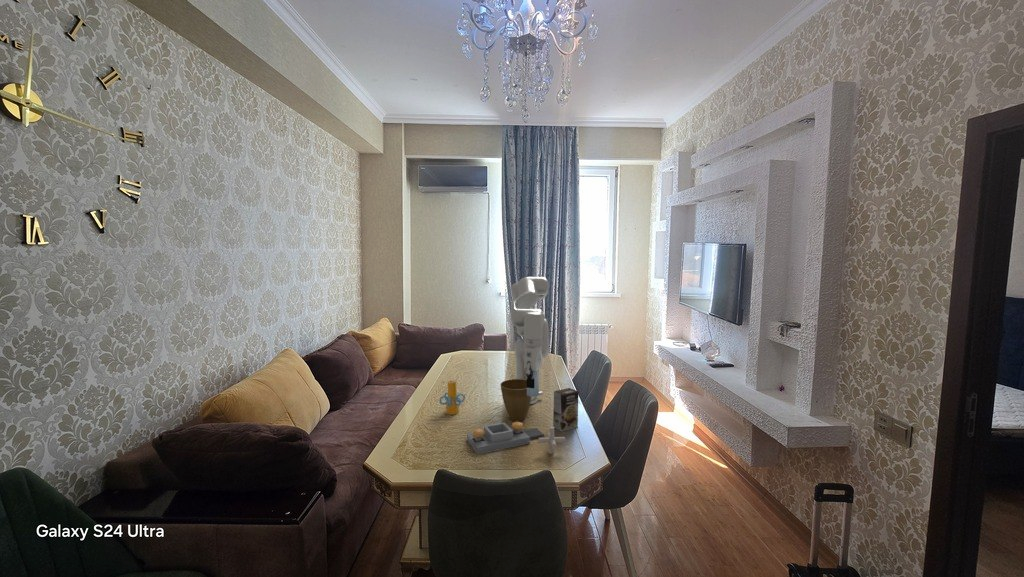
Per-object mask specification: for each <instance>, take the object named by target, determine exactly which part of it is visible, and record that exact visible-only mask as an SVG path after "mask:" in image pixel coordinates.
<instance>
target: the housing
mask: <svg viewBox="0 0 1024 577" xmlns="http://www.w3.org/2000/svg"><path fill="white" fill-rule="evenodd" d="M483 430H484V436H483V437H482V441H481V442H476V443H475V437H473V432H471V433H467V434H466V441H467V442H468V443H469V445H470V446H471V447H472V449H473V450H474V451H475V453H476V454H477V455H480V454H485V453H489V452H495V451H499V450H504V449H509V448H514V447H518V446H523V445H527V444H530V443H531V439H530V437H529V436H528V435H527V434H526V433H525V432H524V431H522V430H523V429H521V434H516V435H515V434H514V429H512V425H508V424H506V423H505V422H499V423H494V424H489V425H483Z"/></svg>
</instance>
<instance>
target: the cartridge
mask: <svg viewBox="0 0 1024 577" xmlns="http://www.w3.org/2000/svg"><path fill="white" fill-rule="evenodd" d="M530 371H532V369H530ZM530 373H531V375H532V372H530ZM539 392H540V369H539V370H538V371H537V372H534V388H527V395H528V396H531V397H535V396H538V395H539ZM538 397H539V396H538Z"/></svg>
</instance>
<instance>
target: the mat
mask: <svg viewBox="0 0 1024 577" xmlns="http://www.w3.org/2000/svg"><path fill="white" fill-rule="evenodd" d="M521 430H522V431H524V432H525V433H526V434H527V435H528V436H529V437H530V440H534V439H539V438H545V434H544V432H542V431H541V430H540V429H538V427H534V428H529V429H524V430H523V429H521Z"/></svg>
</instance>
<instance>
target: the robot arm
mask: <svg viewBox="0 0 1024 577" xmlns="http://www.w3.org/2000/svg"><path fill="white" fill-rule="evenodd" d="M510 289H511V290H510V292H511V297H512V303H511V305H510V322H511V324H512V325H513V326H514V327H516V332H517V334H518V335H519V336H520V337H523V338H520V339H517V340H516V341H515V342H514V344H513V350H514V357H515V379H524V380H527V388H534V372H537V371H538V370H539V371H540V369H541V368H542V367H543V359H544V358H548V356H549V355H550V334H549V322H548V320H547V318H546V315H545V312H544V311H543V310H542V309H540V308H534V307H535V306H536V305H537V304H538V301H539V300H544V299H545V298H546V297H547V295H548V294H549V292H550V283H549V281H548V279H547V278H546V277H545V276H525V277H523V278H520V280H519V281H518V282H515V283H513V284H512V285H511V288H510ZM530 369H532V371H530ZM530 372H532V375H531V373H530ZM539 396H540V397H541V396H544V392H543V391H542V390H541V391H539V395H538V396H535V397H531V401H530V405H533V404H536V403H537V402H538V397H539Z"/></svg>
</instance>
